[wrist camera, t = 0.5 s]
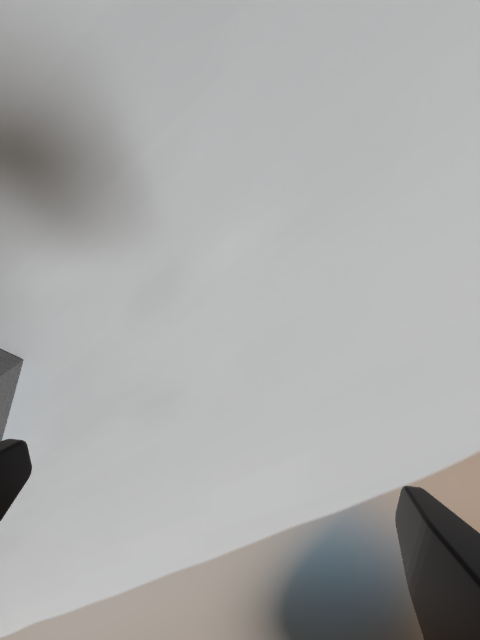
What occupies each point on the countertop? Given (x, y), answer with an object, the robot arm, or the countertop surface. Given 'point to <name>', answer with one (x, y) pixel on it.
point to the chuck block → (7, 384)
